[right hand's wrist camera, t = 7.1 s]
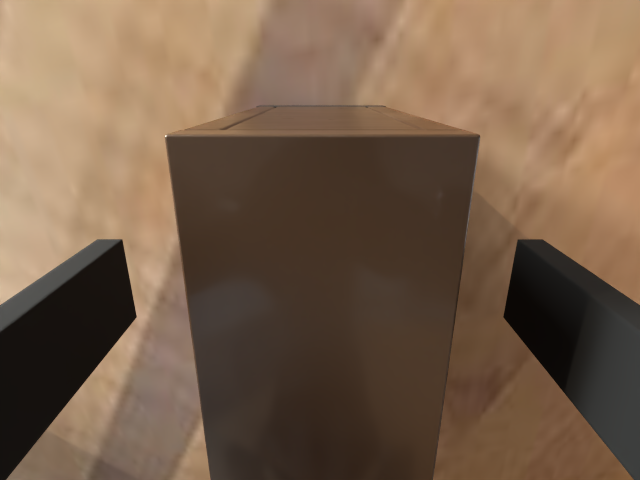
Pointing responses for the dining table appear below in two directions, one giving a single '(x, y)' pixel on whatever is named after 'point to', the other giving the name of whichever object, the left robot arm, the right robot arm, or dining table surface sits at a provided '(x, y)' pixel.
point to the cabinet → (322, 286)
